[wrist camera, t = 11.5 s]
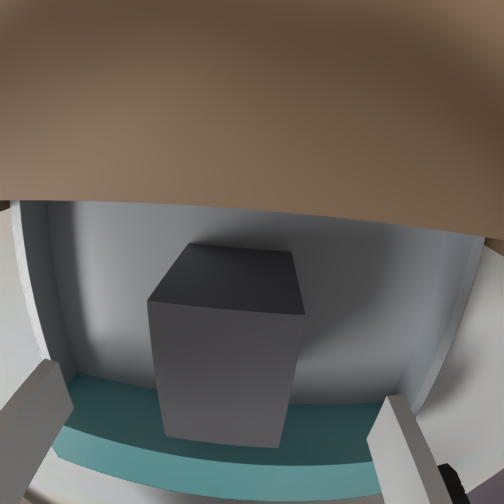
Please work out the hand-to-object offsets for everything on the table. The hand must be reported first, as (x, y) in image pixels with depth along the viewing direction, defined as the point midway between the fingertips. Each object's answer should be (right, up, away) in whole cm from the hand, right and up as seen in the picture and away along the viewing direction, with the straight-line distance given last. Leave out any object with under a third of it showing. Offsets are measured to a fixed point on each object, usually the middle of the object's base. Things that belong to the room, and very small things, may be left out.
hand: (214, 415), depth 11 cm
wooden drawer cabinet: (+2, +18, +2) cm, 18 cm away
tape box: (+1, +3, +6) cm, 6 cm away
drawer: (+1, +3, +7) cm, 7 cm away
